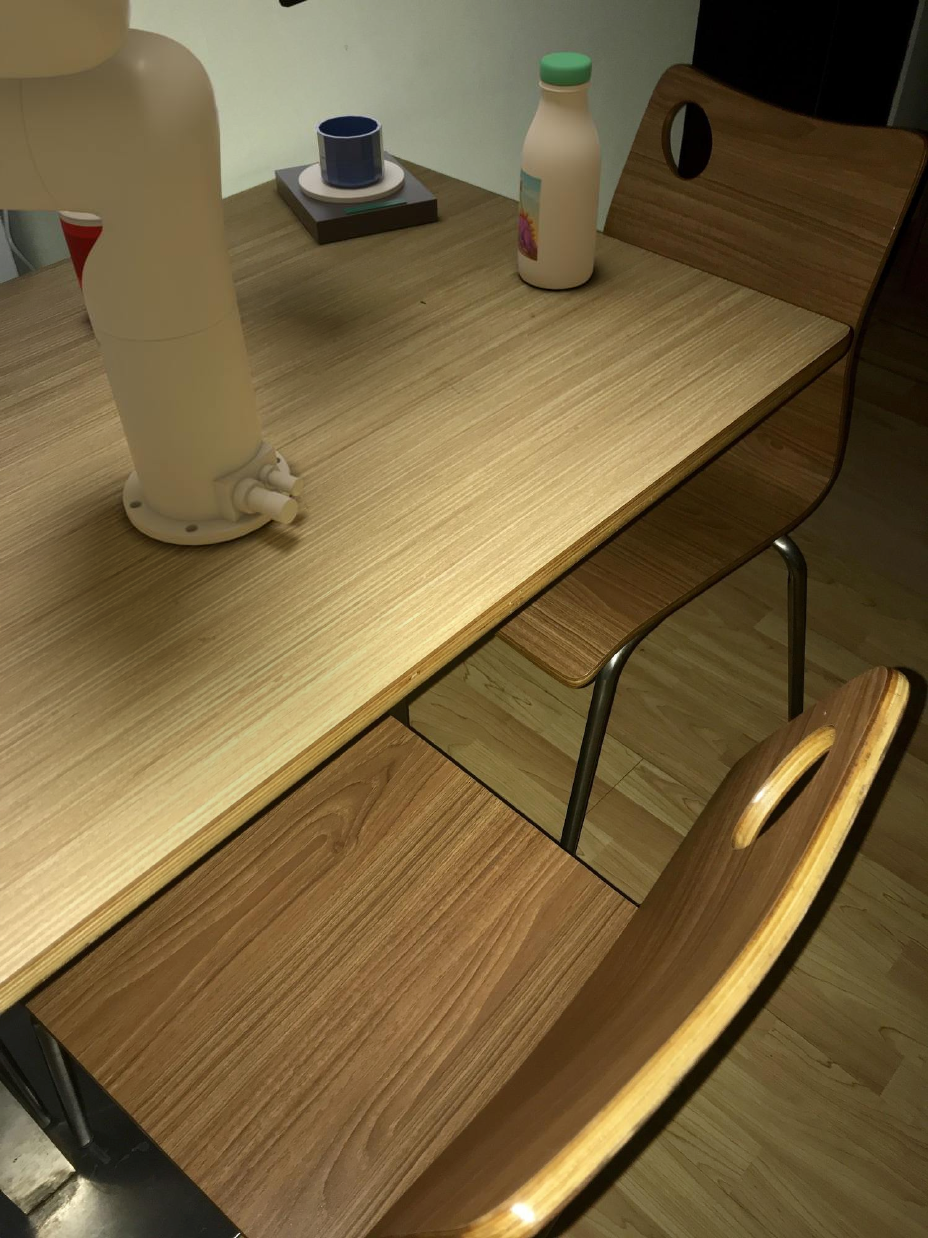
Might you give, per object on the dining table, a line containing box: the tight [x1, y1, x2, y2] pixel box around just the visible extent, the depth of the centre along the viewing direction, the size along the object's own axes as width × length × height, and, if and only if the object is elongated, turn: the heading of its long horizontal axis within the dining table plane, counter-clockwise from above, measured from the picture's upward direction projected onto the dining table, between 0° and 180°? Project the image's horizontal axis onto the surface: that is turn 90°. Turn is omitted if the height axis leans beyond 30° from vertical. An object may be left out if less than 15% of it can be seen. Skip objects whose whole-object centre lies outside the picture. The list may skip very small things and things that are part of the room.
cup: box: [314, 114, 385, 188], centre depth 110 cm, size 7×7×6 cm
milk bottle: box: [517, 51, 602, 290], centre depth 95 cm, size 8×8×20 cm
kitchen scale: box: [274, 150, 439, 245], centre depth 114 cm, size 16×14×3 cm
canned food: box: [57, 211, 103, 299], centre depth 93 cm, size 8×8×11 cm
